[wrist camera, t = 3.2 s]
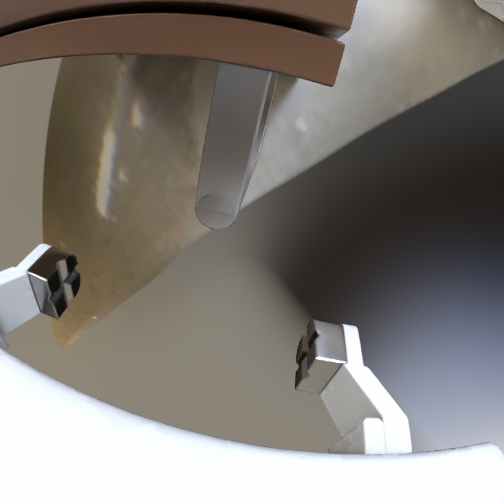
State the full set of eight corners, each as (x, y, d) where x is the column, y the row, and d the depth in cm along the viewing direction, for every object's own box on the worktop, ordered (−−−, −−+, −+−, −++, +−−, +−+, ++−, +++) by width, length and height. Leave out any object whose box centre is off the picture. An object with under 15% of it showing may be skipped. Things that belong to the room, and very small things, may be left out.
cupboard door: (281, 147, 27) (256, 331, 9) (108, 116, 27) (-72, 215, 9) (302, 68, 23) (346, 43, 4) (116, 45, 22) (-87, 76, 4)
